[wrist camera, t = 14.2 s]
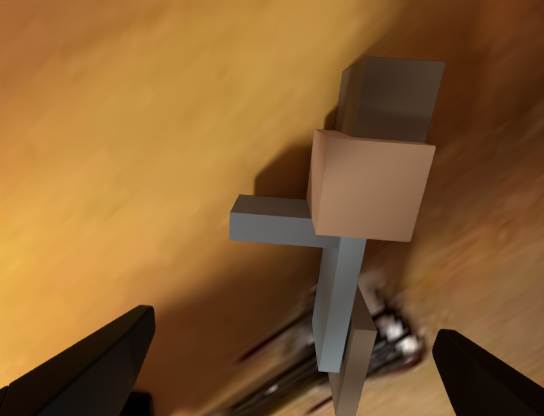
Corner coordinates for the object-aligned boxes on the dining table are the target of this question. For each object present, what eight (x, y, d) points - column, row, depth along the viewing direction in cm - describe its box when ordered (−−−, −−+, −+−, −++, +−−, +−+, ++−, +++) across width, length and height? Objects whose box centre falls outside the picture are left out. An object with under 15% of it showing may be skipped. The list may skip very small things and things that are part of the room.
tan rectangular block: (373, 203, 16) (410, 242, 12) (306, 198, 16) (316, 234, 12) (387, 134, 15) (436, 146, 10) (314, 129, 15) (329, 138, 10)
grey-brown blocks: (340, 357, 21) (354, 418, 17) (302, 354, 21) (307, 414, 17) (398, 75, 15) (445, 62, 10) (342, 71, 15) (366, 56, 10)
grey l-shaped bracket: (328, 323, 20) (338, 372, 16) (237, 315, 20) (226, 362, 16) (350, 199, 17) (369, 225, 13) (241, 191, 17) (228, 214, 13)
